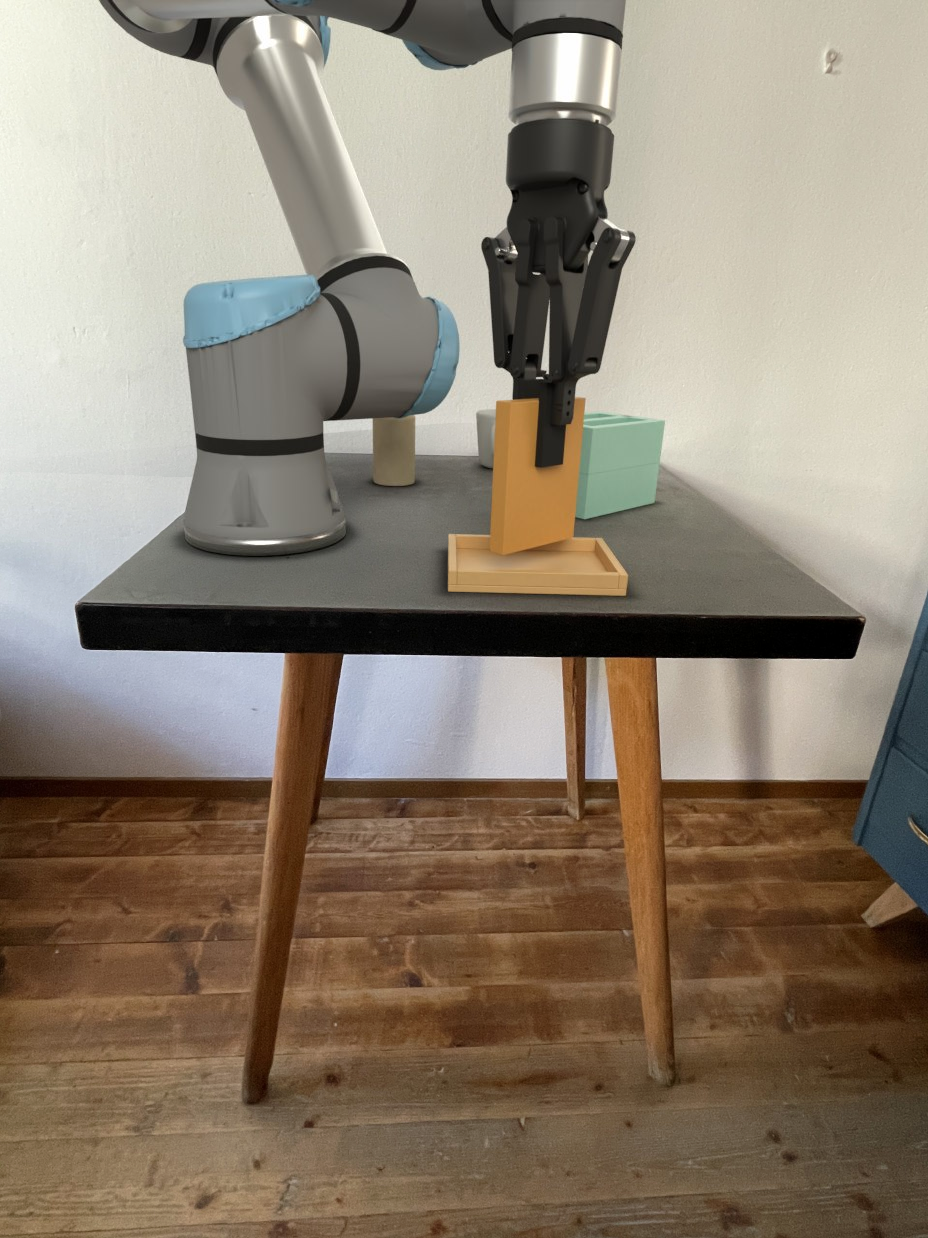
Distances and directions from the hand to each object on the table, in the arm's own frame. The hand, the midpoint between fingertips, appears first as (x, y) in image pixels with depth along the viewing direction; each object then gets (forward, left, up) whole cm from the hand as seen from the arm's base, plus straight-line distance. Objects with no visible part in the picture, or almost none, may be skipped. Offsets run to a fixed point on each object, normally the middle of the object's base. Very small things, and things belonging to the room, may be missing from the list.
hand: (538, 462), depth 61 cm
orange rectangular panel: (0, 0, -7) cm, 7 cm away
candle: (-37, +14, -10) cm, 41 cm away
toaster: (-14, +26, -10) cm, 31 cm away
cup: (-36, +33, -10) cm, 50 cm away
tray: (0, 0, -10) cm, 10 cm away
